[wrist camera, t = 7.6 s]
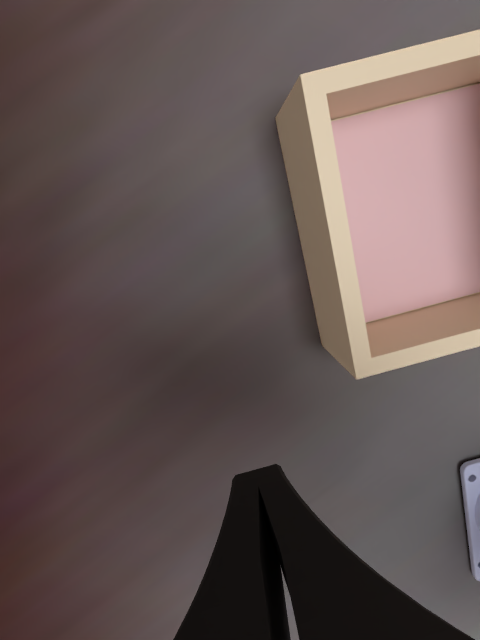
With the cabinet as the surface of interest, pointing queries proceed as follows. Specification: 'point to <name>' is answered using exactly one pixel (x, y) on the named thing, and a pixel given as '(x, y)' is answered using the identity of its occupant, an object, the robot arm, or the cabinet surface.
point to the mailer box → (390, 201)
